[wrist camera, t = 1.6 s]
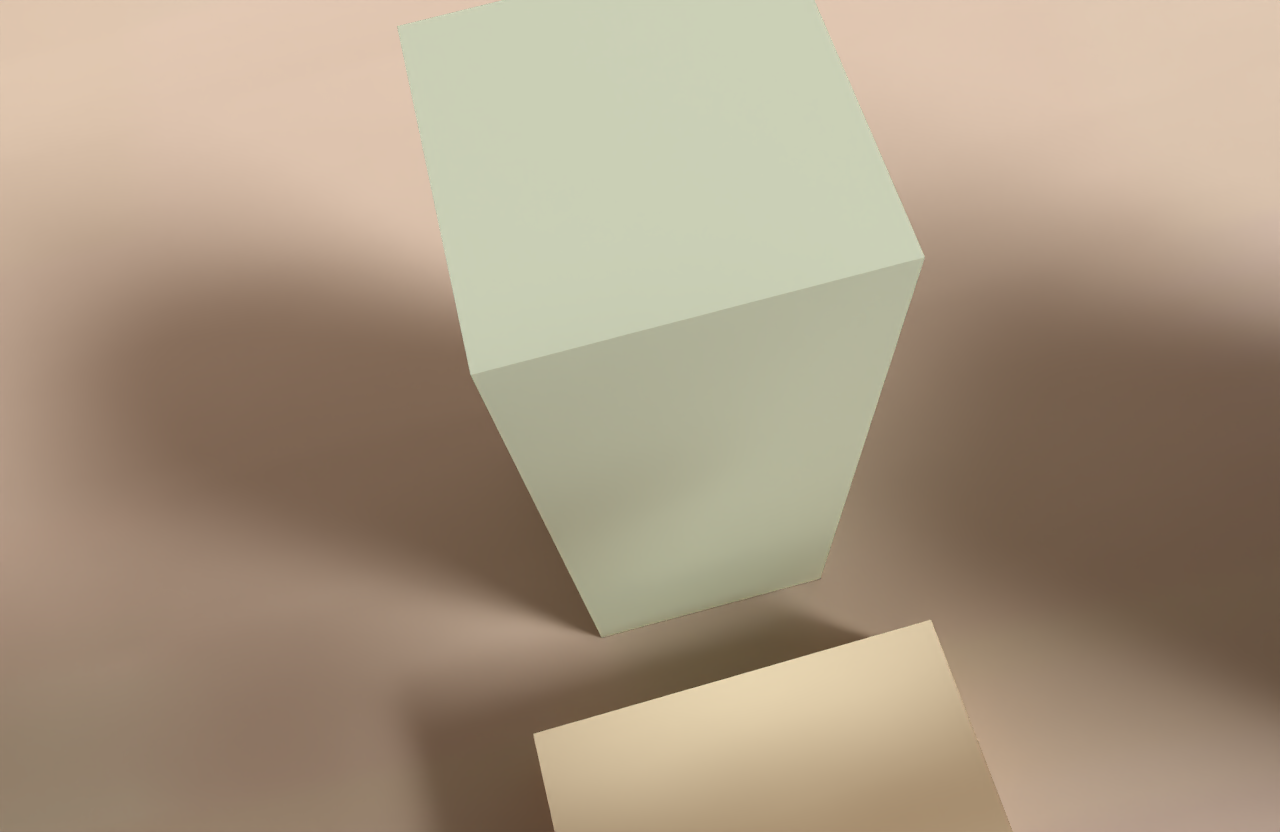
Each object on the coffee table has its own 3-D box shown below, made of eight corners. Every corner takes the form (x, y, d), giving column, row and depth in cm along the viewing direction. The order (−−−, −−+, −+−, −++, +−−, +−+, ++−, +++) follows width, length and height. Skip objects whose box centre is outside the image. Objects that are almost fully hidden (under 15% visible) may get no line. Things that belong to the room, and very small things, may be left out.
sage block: (820, 579, 21) (924, 257, 10) (601, 637, 21) (470, 375, 10) (754, 382, 23) (784, -69, 12) (552, 435, 23) (397, 26, 12)
